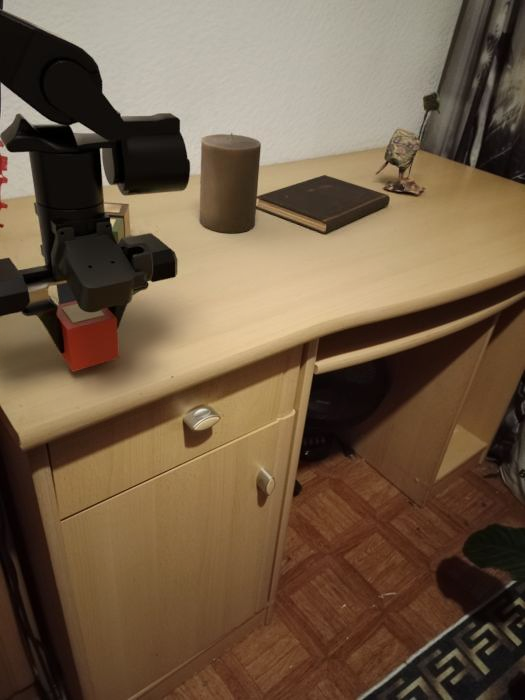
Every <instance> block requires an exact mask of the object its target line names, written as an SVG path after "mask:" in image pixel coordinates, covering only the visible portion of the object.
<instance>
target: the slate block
mask: <svg viewBox="0 0 525 700" xmlns="http://www.w3.org/2000/svg"><path fill="white" fill-rule="evenodd" d="M55 286H56V292H57V299H58V300H57V301H58V305H60V304H64V303H69V302H73V301H76V299H75V297H74V295H73V293H72V291H71V289H70V287H69V285H68V283H63V284H58V285H55Z"/></svg>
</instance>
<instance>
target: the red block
mask: <svg viewBox="0 0 525 700" xmlns="http://www.w3.org/2000/svg"><path fill="white" fill-rule="evenodd" d="M56 305H57V307H58V310H57V317H58V321H59V325H60V329H61V333H62V336H63V340H64V353H62V354H61V353H60V352H59V350H58V349H57V347H56V346H55V348H56V349H57V351H58V352H59V354H60V355H61V357H62V359H63V360H64V361H65V362H66V364H67V366H68V367H69V368H70V370H71V371H72V372H76V371H80V370H83V369H86V368H90V367H93V366H97V365H99V364H103V363H106V362H110V361H113V360H117V359H119V358H120V349H119V347H120V346H119V336H118V334H119V333H118V330H117V319H116V317H115V316H114V314H113V313H112V312H111V311H110V310H109V309H108V308H104V309H101V310H100V311H97V312H92V313H90V312H85V311H83V310H82V309H80V307H79V306H78V304H77V301H73V302H69V303H64V304H60V305H59V304H56Z"/></svg>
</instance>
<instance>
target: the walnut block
mask: <svg viewBox="0 0 525 700" xmlns="http://www.w3.org/2000/svg"><path fill="white" fill-rule="evenodd" d="M104 208H105V213H106V214H107V215H108V216H110V217H111V218H123V224H124V238H126V237H131V217H130V204H129V203H121V202H107V201H106V202H105V201H104Z"/></svg>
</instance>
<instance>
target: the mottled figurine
mask: <svg viewBox="0 0 525 700" xmlns="http://www.w3.org/2000/svg"><path fill="white" fill-rule="evenodd" d="M422 104H423V110H424V114H423V119H422V120H423V121H422V122H421V123H422V124H421V126H420V129H419V133H418V134H419V135H418V134H415V133H413V132H411V131H409V130H407V129H405V128H396V130H395V131H394V132H393V134H392V136H391V138H390V139H389V143H388V144H387V146H386V149H385V152H384V157H383V158H384V160H385V162H383V163H384V164H382V165H381V167H380V168H378V170H377V171H375V173H374V175H375V176H376V175H378V174H380V172H381V171H383V170H384V169H385V168H386V167H387V166H388V165H389V164H390V165H391V166H394V167H396V168H398V177H397V180H396V181H395V180H391V181H390V180H388V181H387V182H386V184H385V185H384V186H383V187H382V189H385V190H390V191H391V192H392V191H393V192H407V193H413V194H414V195H420V194H421V193H422V191H425V190H426V187H421V186H420V185H418V184H417V183H416V182H415V181H416V180H415V178H412V177H410V175H411V170H412V166H413V163H414V160H415V158H416V156H417V153H418V151H419V149H420V147H421V144H422V143H421V142H422V141H421V135H422V132H423V128H424V124H425V122H426V119H427V118H428V115H429V114H428V113H429V112H431V111H434V112H437V114H441V111H440V107H441V101H440V96H439V92H437V91H432V92H430V93H427V94H425V95H424V96H423V97H422ZM407 169H409V170H408V175H407V177H404V176H405V173H406V171H407ZM420 187H421V188H420ZM404 189H405V190H404Z"/></svg>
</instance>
